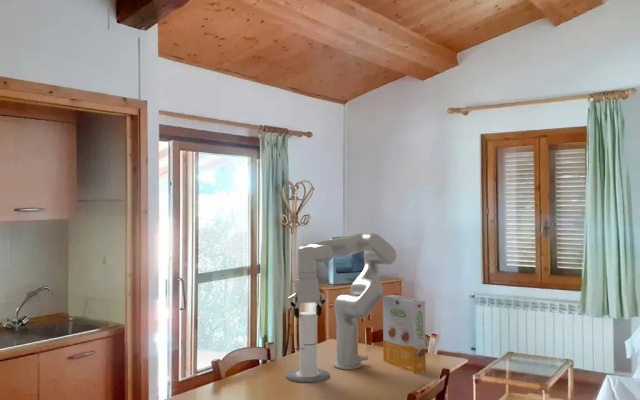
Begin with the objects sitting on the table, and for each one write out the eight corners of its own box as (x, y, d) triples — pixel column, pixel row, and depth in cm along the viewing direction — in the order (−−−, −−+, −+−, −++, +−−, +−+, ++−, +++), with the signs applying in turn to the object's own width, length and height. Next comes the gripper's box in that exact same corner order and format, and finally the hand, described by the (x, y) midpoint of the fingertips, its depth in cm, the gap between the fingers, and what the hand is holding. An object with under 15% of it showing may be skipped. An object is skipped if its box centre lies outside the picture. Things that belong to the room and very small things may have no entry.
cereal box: (425, 371, 238) (424, 301, 238) (414, 373, 235) (413, 302, 235) (394, 359, 257) (393, 294, 258) (383, 361, 254) (382, 295, 255)
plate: (319, 368, 243) (319, 365, 243) (335, 379, 226) (335, 376, 226) (280, 373, 236) (280, 370, 236) (294, 384, 220) (294, 381, 220)
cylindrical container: (314, 376, 227) (314, 315, 228) (297, 375, 229) (297, 314, 229) (318, 371, 234) (318, 312, 235) (301, 370, 236) (301, 311, 236)
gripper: (322, 273, 239) (323, 313, 239) (284, 276, 233) (285, 316, 233) (329, 275, 232) (330, 316, 232) (290, 277, 226) (291, 319, 226)
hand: (307, 316), depth 232 cm, fingers open, 9 cm apart
